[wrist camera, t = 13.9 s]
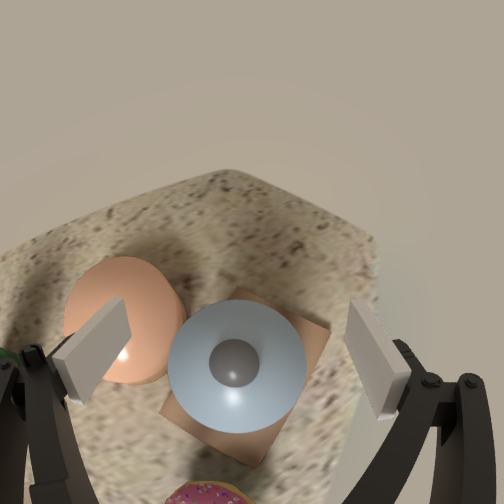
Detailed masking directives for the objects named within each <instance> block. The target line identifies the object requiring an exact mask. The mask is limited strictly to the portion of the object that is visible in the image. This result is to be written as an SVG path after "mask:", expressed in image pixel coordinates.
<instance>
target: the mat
mask: <svg viewBox="0 0 504 504" xmlns="http://www.w3.org/2000/svg"><path fill="white" fill-rule="evenodd" d="M229 300H248V301H254V302H257V303H261V304H263V305H266V306H268V307H270V308H272V309H274V310H276V311H277V312H278V313H280V314H281V315H282V316H284V317H285V318H286V319H287V320H288V321H289V322H290V323H291V324H292V326H293V327H294V328H295V329H296V331H297V333H298V334H299V336H300V338H301V341H302V343H303V345H304V349H305V352H306V359H307V374H306V380H305V384H304V387H305V385H306V383H307V382H308V380H309V378H310V376H311V374H312V372H313V370H314V368H315V366H316V364H317V362H318V360H319V358H320V356H321V354H322V352H323V349H324V347H325V345H326V343H327V341H328V339H329V337H330V335H331V332H332V331H329V330H327V329H325V328H323V327H321V326H319V325H317V324H315V323H312V322H310V321H308V320H306V319H304V318H302V317H300V316H298V315H296V314H294V313H292V312H289V311H287V310H285V309H283V308H281V307H279V306H277V305H275V304H273V303H271V302H269V301H267V300H265V299H263V298H261V297H259V296H257V295H255V294H253V293H251V292H249V291H247V290H245V289H243V288H241V287H239V286H237V288H236V290H235V291H234V293H233V294H232V296H231V298H230V299H229ZM304 387H303V389H304ZM302 391H303V390H302ZM301 393H302V392H301ZM300 395H301V394H300ZM296 402H297V401H296ZM295 404H296V403H295ZM294 406H295V405H294ZM294 406H293V407H294ZM293 407H292V408H291V409H290V411H289V412H288V413H287V414H285V415H284V416H283V417H282V418H281V419H279V420H278V421H276V422H275V423H274V424H272V425H270V426H267V427H265V428H263V429H260V430H257V431H252V432H247V433H227V432H222V431H218V430H215V429H212V428H209V427H207V426H205V425H203V424H201V423H200V422H198V421H197V420H195V419H194V418H192V417H191V416H190V415H189V414H188V413H187V412H186V411H185V410H184V409H183V408H182V406H181V405H180V404H179V402H178V401H177V399H176V397H175V395H174V393H173V391H172V392H171V394H170V396H169V397H168V399H167V400H166V402H165V404H164V405H163V407H162V408H161V410H160V412H159V414H161V415H162V416H163V417H165V418H166V419H168V420H169V421H171V422H172V423H174V424H175V425H177V426H178V427H180V428H182V429H183V430H185V431H186V432H188V433H189V434H191V435H193V436H194V437H196V438H198V439H199V440H201V441H203V442H204V443H206V444H208V445H210V446H211V447H213V448H215V449H217V450H219V451H220V452H222V453H224V454H226V455H228V456H230V457H232V458H234V459H236V460H238V461H240V462H242V463H244V464H246V465H248V466H250V467H252V468H254V469H256V468H257V467H258V465H259V464H260V462H261V461H262V459H263V457H264V456H265V454H266V453H267V451H268V450H269V448H270V446H271V445H272V443H273V442H274V440H275V438H276V437H277V435H278V433H279V432H280V430H281V428H282V427H283V425H284V423H285V422H286V420H287V418H288V416H289V415H290V413H291V411H292V409H293Z"/></svg>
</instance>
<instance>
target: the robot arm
mask: <svg viewBox="0 0 504 504" xmlns="http://www.w3.org/2000/svg"><path fill="white" fill-rule="evenodd" d="M131 337H132V335H131V330H130V326H129V321H128V317H127V312H126V307H125V302H124V297H112V298H111V299H110V300H109V301H108V302H107V303H106V304H105V305H104V306H103V307H101V308H100V309H99V310H98V311H97V312H96V313H95V314H94V315H93V316H92V317H91V318H90V319H89V320H88V321H87V322H86V323H85V324H84V325H83V326H82V327H81V328H80V329H79V330H78V331H77V332H76V333H73V334H71V335H69V336H67V337H66V338H65V339H64V340H63V341H62V343H60V344H59V345H58V347H56V348H55V349H54V350H53V351H52V352H51V353H50V354H49V355H48V356H47V357H45V355H44V352H43V350H42V347H41V346H40V345H39V344H29V345H26V346H25V347H23V348H22V349H21V350H20V351H19V356H20V358H21V360H22V362H23V365H24V367H17V364H16V362H15V360H14V359H13V358H4V359H1V360H0V504H23V497H24V477H25V465H26V455H27V447H28V444H29V452H30V459H31V465H32V470H33V476H34V481H35V484H34V485H30V487H29V492H30V497H31V501H32V504H99V502H98V500H97V498H96V495H95V493H94V491H93V488H92V486H91V483H90V480H89V478H88V475H87V472H86V470H85V467H84V464H83V461H82V458H81V455H80V452H79V449H78V445H77V442H76V439H75V435H74V431H73V428H72V424H71V420H70V416H69V412H68V407H67V403H66V401H65V399H64V397H65V396H66V395H67V393H68V395H69V397H70V399H71V401H72V402H73V403H76V404H79V405H83V406H84V405H85V403H86V402H87V400H88V399H89V397H90V396H91V394H92V393H93V391H94V390H95V389H96V387H97V386H98V384H99V383H100V381H101V380H102V378H103V377H104V375H105V374H106V372H107V371H108V370H109V368H110V367H111V365H112V364H113V362H114V361H115V360H116V358H117V357H118V355H119V354H120V353H121V351H122V350H123V348H124V347H125V346H126V344H127V343H128V341H129V340H130V339H131ZM344 341H345V343H346V346H347V348H348V350H349V353H350V355H351V357H352V360H353V362H354V364H355V367H356V369H357V371H358V374H359V376H360V379H361V381H362V384H363V386H364V388H365V391H366V393H367V396H368V398H369V401H370V403H371V406H372V408H373V411H374V413H375V416H376V419H377V420H378V421H379V420H385V419H390V418H393V417H394V415H395V412H396V410H398V412H399V415H398V417H397V419H396V420H395V422H394V424H393V426H392V428H391V430H390V432H389V433H388V435H387V437H386V439H385V440H384V442H383V444H382V446H381V447H380V449H379V451H378V452H377V454H376V456H375V457H374V459H373V460H372V462H371V463H370V465H369V466H368V468H367V469H366V471H365V472H364V474H363V475H362V477H361V478H360V480H359V481H358V483H357V484H356V486H355V487H354V488H353V490H352V491H351V492H350V494H349V495H348V496H347V498H346V499H345V500H344V502H343V503H342V504H394V503H395V501H396V499H397V498H398V496H399V494H400V492H401V490H402V488H403V486H404V484H405V483H406V481H407V479H408V477H409V475H410V472H411V471H412V468H413V466H414V464H415V462H416V460H417V457H418V455H419V453H420V451H421V448H422V446H423V444H424V441H425V438H426V436H427V433H428V431H429V428H430V427H431V426H432V427H434V426H436V427H437V428H438V429H437V446H436V459H435V469H434V477H433V485H432V491H431V498H430V503H429V504H496V463H495V449H494V440H493V431H492V423H491V417H490V411H489V405H488V400H487V395H486V390H485V385H484V382H483V380H482V379H481V378H480V377H479V376H478V375H476V374H472V373H465V374H463V375H461V376H460V378H459V380H458V382H457V383H456V382H443V380H442V379H441V378H440V377H439V376H438V375H436V374H434V373H430V372H426V370H425V369H424V367H423V366H422V365H421V363H420V362H419V360H418V359H417V358H416V357H415V355H414V353H413V352H411V349H410V348H409V346H408V345H407V344H406V343H404V342H403V341H401V340H400V339H397V340H391V338H390V337H389V336H388V334H387V333H386V331H385V330H384V328H383V327H382V325H381V324H380V322H379V321H378V320H377V318H376V317H375V315H374V314H373V312H372V311H371V310H370V308H369V307H368V305H367V304H366V303H365V301H364V300H363V299H352V300H350V306H349V313H348V320H347V327H346V333H345V340H344ZM11 399H12V402H11Z"/></svg>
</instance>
